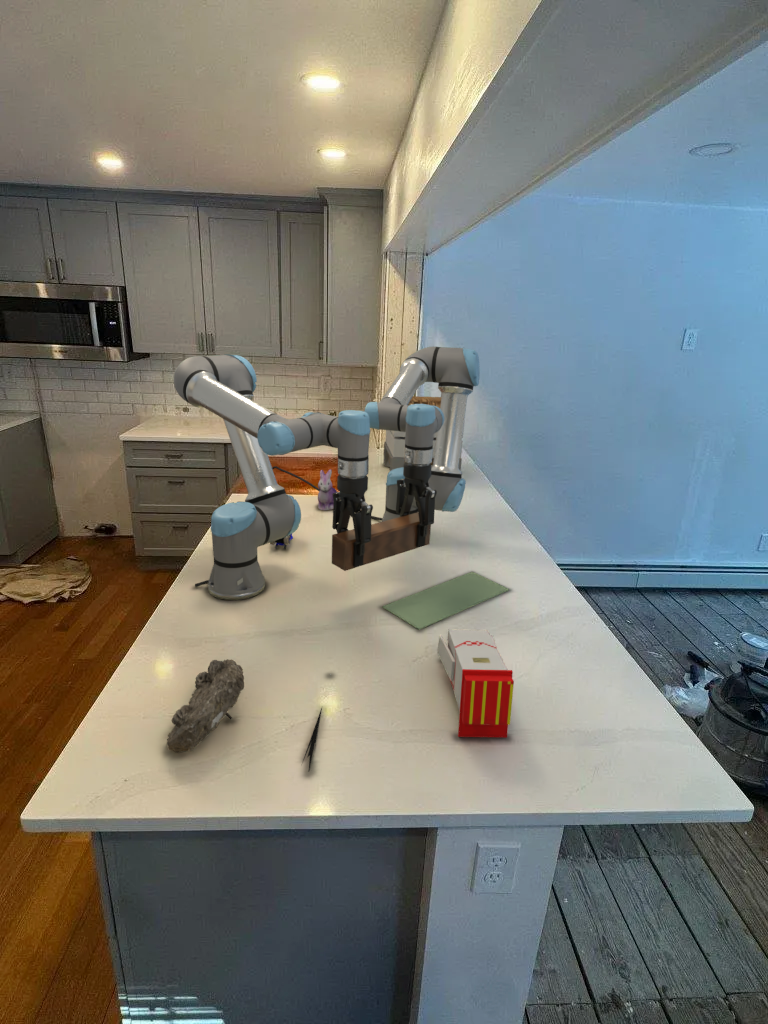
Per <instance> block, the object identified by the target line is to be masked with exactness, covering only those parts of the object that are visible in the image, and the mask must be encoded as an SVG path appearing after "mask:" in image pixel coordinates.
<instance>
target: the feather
mask: <svg viewBox="0 0 768 1024" xmlns="http://www.w3.org/2000/svg"><path fill="white" fill-rule="evenodd" d="M329 675H330V676H331V675H332V674H331V673H330V674H329ZM322 710H323V707H321V708H320V710H319V713H318V716H317V719H316V723H315V725H314V728H313V731H312V733H311V737H310V739H309V742H308V745H307V748H306V751H305V754H304V757H303V760H302V763H301V767H302V765H303V763H304V761H305V758H308V759H309V760H308V762H307V763H308V764H307V766H308V771H310V770H311V766H312V765H311V764H312V760H313V757H315V756H314V755H315V751H316V749H315V746H317V739H318V733H319V729H320V722H321V717H322V712H323V711H322ZM313 754H314V755H313ZM306 755H307V757H306Z"/></svg>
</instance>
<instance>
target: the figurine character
mask: <svg viewBox="0 0 768 1024" xmlns="http://www.w3.org/2000/svg"><path fill="white" fill-rule="evenodd" d="M292 539H294V536H293V533H292V534H290V535H288V536H287V537H285V538H282V539H278V540H275V541H273V542H270V543H269V545H271V546H274V549H275V550H277V549H278V547H279V546H283V548H282V549H283V550H286V549H287V546H289V544H290V541H292Z"/></svg>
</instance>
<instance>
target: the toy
mask: <svg viewBox="0 0 768 1024" xmlns="http://www.w3.org/2000/svg"><path fill="white" fill-rule="evenodd" d="M446 640H447V643H446V641H445V639H444V636H443V635H442V634H439V637H438V646H437V656H438V657H439V659H440V661H441V663H442V666H443V668H444V670H445V672H446V674H447V677H448V679H449V681H450V684H451V687H452V690H453V693H454V697H455V701H456V705H457V708H458V711H459V714H458V715H459V716H458V730H457V731H458V732H457V737H458V738H508V731H509V726H510V725H511V717H512V707H513V697H514V696H513V695H514V684H515V680H514V679H513V673H514V671H513V670H512V669H508V667H507V665H506V662H505V661H504V659H503V658H502V655H501V653H500V651H499V649H498V647H497V643H496V639H495V637H494V635H493V634H491V632H490V631H489V629H467V628H466V629H465V628H463V629H461V628H460V629H459V628H448V630H447V639H446Z"/></svg>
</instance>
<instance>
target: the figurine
mask: <svg viewBox="0 0 768 1024" xmlns="http://www.w3.org/2000/svg"><path fill="white" fill-rule="evenodd" d="M332 471H333V470H332V469H331V468H330V469H328V471H327V472H326V473H325V471H324V469H321V470H320V471H319V481H318V483H317V488H319V489H320V491H318V493H317V502H318V503H317V508H318V510H321V511H328V510H329V511H330V510H333V504H334V501H333V495H332V494H333V493H336V492H338V491H337V489H336V488H334V487H333V483H332V480H331V478H332V473H333V472H332Z"/></svg>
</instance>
